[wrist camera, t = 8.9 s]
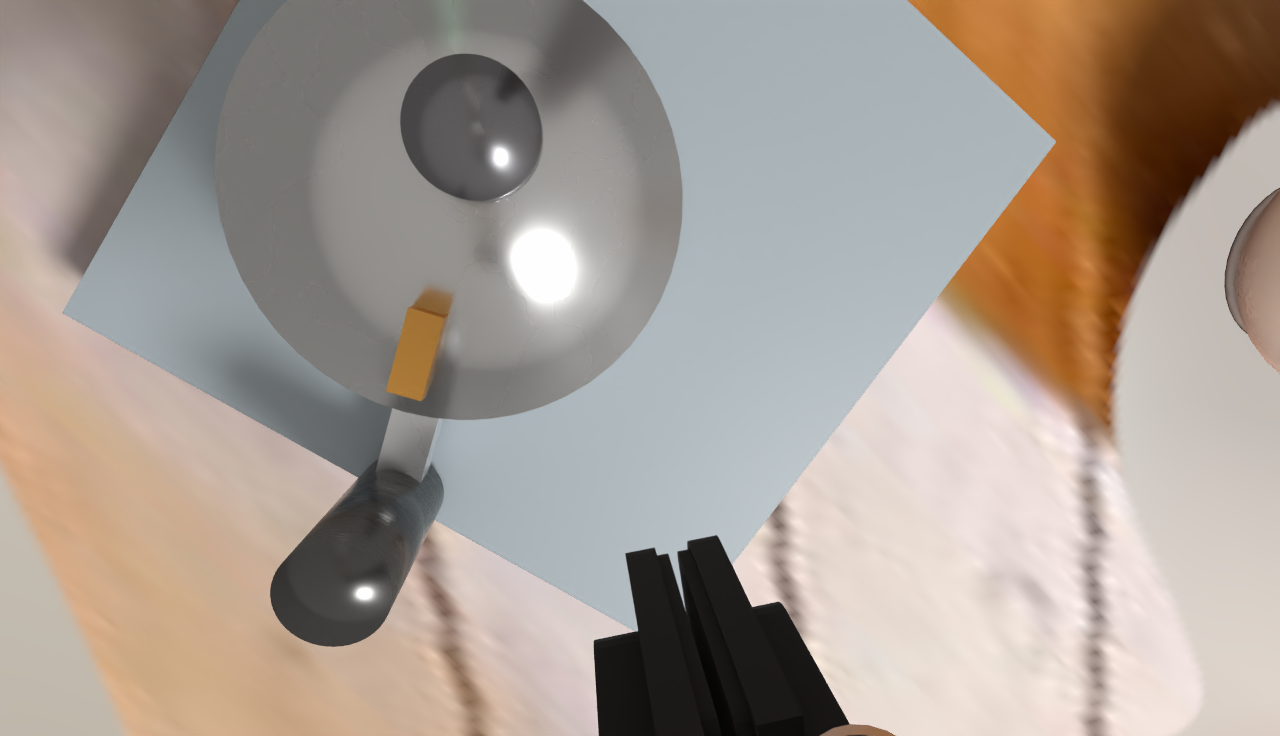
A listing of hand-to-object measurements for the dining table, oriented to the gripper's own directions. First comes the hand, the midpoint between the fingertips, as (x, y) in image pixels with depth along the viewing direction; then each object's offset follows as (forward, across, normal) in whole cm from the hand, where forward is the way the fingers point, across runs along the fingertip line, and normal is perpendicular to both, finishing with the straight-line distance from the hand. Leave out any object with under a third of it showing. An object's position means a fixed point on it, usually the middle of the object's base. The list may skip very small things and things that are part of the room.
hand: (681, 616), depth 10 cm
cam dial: (+8, +4, -6) cm, 11 cm away
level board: (+10, 0, -7) cm, 12 cm away
